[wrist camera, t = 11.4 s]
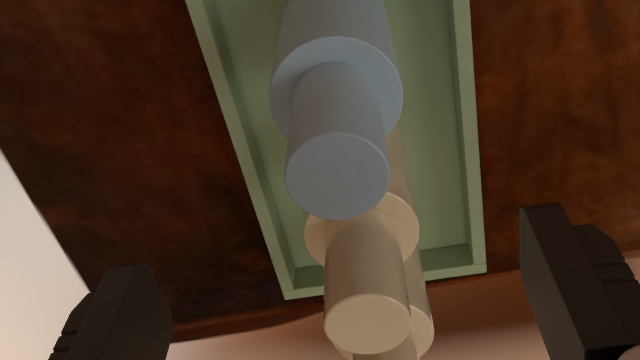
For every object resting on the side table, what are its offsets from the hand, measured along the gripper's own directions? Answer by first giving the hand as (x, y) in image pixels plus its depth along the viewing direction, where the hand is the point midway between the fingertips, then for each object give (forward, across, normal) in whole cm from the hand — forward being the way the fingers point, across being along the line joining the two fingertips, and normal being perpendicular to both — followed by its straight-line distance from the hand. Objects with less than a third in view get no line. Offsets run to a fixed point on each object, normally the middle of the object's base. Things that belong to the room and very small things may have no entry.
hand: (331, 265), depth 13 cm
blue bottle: (+16, 0, 0) cm, 16 cm away
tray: (+17, 0, +6) cm, 18 cm away
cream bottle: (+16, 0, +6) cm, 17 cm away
